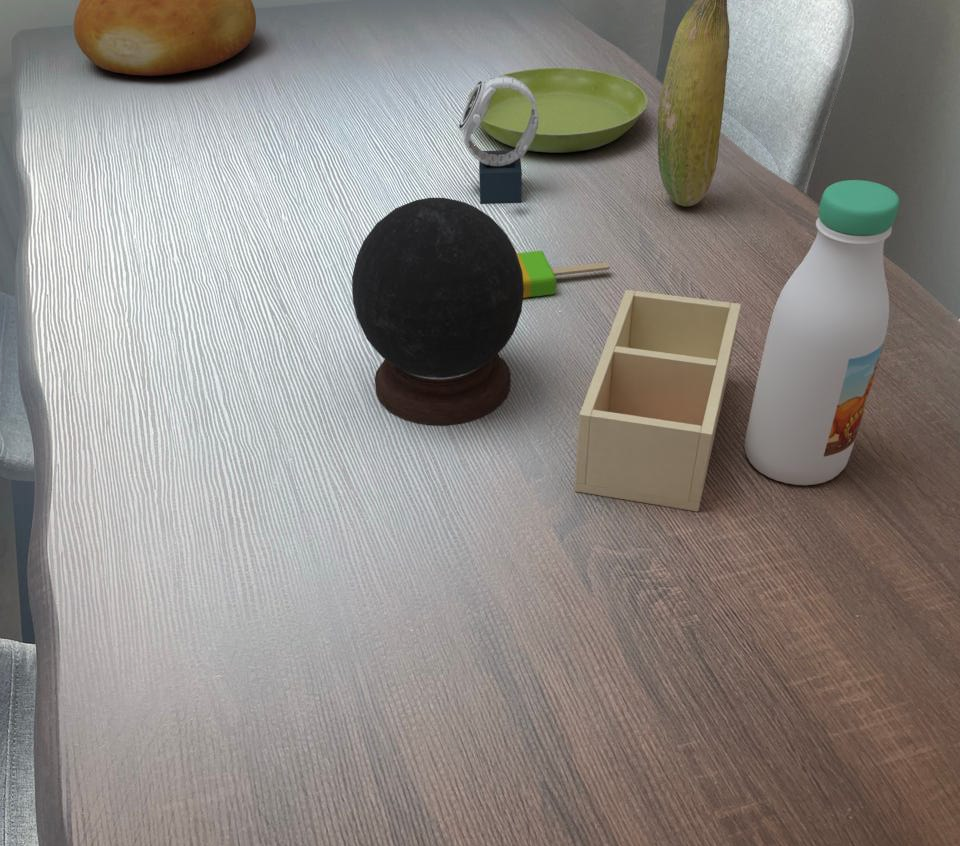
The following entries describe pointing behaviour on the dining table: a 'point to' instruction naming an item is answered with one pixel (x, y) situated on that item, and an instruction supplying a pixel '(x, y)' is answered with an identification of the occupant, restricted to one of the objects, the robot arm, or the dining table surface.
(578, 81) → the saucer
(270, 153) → the dining table surface
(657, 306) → the wooden divided box
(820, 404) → the milk bottle
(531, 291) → the popsicle
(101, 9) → the bread
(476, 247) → the black ball on stand
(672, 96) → the vegetable
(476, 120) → the watch
